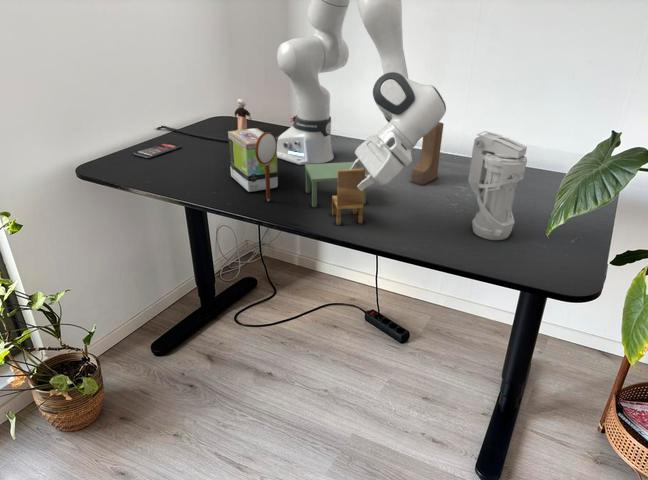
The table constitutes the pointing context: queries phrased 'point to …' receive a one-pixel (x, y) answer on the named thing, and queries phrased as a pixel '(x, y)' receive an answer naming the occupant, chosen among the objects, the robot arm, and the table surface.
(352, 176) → the chair
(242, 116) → the grandmother figurine
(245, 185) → the tea box
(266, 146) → the magnifying glass
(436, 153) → the wooden block
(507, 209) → the grey mechanical canister
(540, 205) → the table surface
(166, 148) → the smartphone
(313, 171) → the side table
